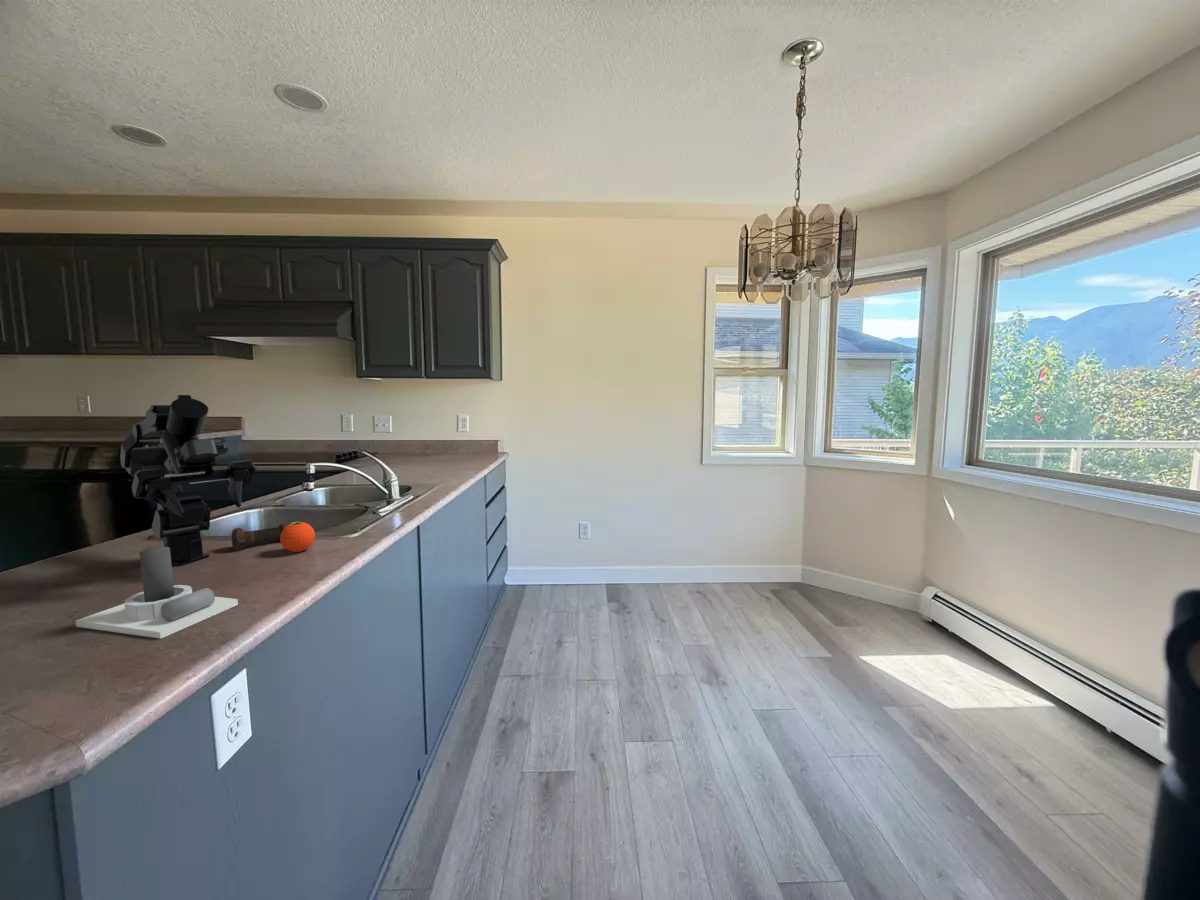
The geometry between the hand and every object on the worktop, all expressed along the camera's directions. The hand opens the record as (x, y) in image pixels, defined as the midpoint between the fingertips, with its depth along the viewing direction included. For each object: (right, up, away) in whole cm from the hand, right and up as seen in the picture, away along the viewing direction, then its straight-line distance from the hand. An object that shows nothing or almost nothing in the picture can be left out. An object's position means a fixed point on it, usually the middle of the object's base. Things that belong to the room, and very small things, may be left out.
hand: (212, 510), depth 93 cm
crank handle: (+4, -14, -15) cm, 21 cm away
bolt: (-5, -12, +24) cm, 27 cm away
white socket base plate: (+4, -15, -15) cm, 22 cm away
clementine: (+5, -12, +18) cm, 22 cm away
